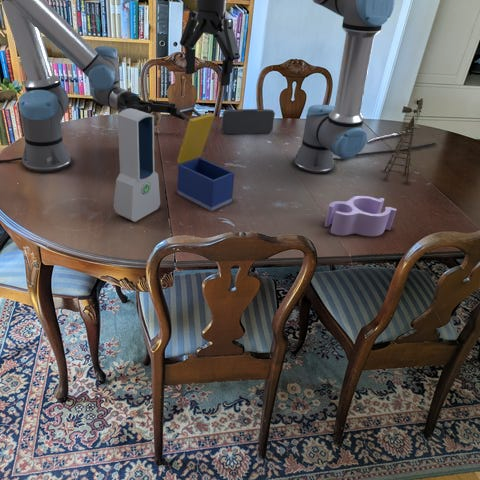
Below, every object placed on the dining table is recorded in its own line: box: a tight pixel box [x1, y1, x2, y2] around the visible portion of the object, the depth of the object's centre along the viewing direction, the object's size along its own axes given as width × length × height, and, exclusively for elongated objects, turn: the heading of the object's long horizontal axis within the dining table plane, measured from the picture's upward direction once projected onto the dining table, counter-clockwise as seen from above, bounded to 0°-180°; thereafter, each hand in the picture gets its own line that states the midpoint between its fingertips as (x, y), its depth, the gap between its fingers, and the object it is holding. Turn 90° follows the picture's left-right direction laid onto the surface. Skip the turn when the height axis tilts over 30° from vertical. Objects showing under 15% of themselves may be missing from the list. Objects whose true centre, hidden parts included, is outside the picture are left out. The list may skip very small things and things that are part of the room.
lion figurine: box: [150, 112, 162, 127], centre depth 189 cm, size 15×5×9 cm, turn 110°
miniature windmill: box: [383, 97, 424, 184], centre depth 169 cm, size 9×8×30 cm
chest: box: [176, 156, 235, 212], centre depth 147 cm, size 15×10×10 cm, turn 50°
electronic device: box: [112, 108, 161, 223], centre depth 130 cm, size 12×8×30 cm, turn 148°
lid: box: [176, 105, 215, 165], centre depth 144 cm, size 16×10×8 cm
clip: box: [324, 195, 398, 237], centre depth 141 cm, size 20×12×7 cm, turn 109°
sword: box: [367, 131, 410, 144], centre depth 215 cm, size 31×3×1 cm, turn 126°
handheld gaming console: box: [221, 108, 276, 135], centre depth 201 cm, size 23×3×10 cm, turn 108°
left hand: (168, 119), depth 147 cm, fingers open, 13 cm apart
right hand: (207, 79), depth 131 cm, fingers open, 13 cm apart
